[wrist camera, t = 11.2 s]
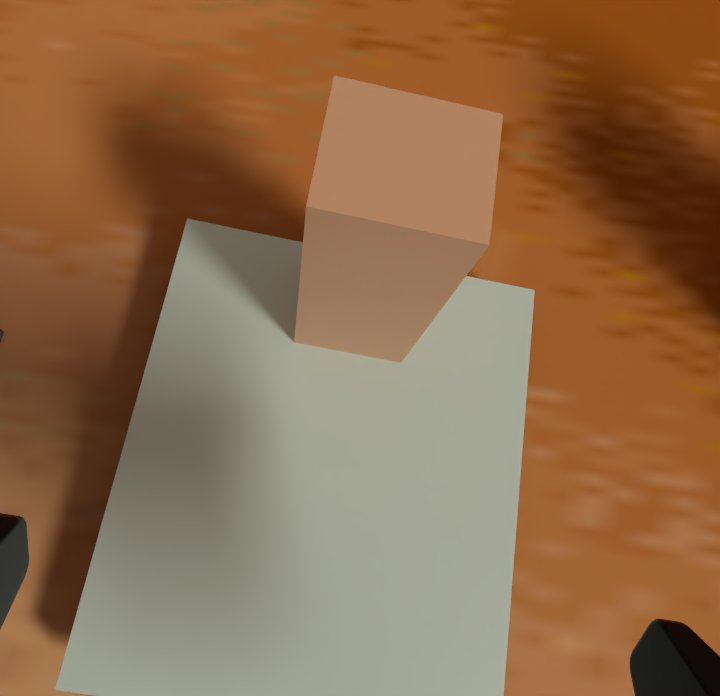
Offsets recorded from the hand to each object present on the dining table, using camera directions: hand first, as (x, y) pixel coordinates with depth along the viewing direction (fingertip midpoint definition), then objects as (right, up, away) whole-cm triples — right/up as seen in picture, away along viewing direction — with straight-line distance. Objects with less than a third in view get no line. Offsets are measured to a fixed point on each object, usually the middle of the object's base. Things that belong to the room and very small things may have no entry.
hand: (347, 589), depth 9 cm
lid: (-1, -1, +12) cm, 12 cm away
